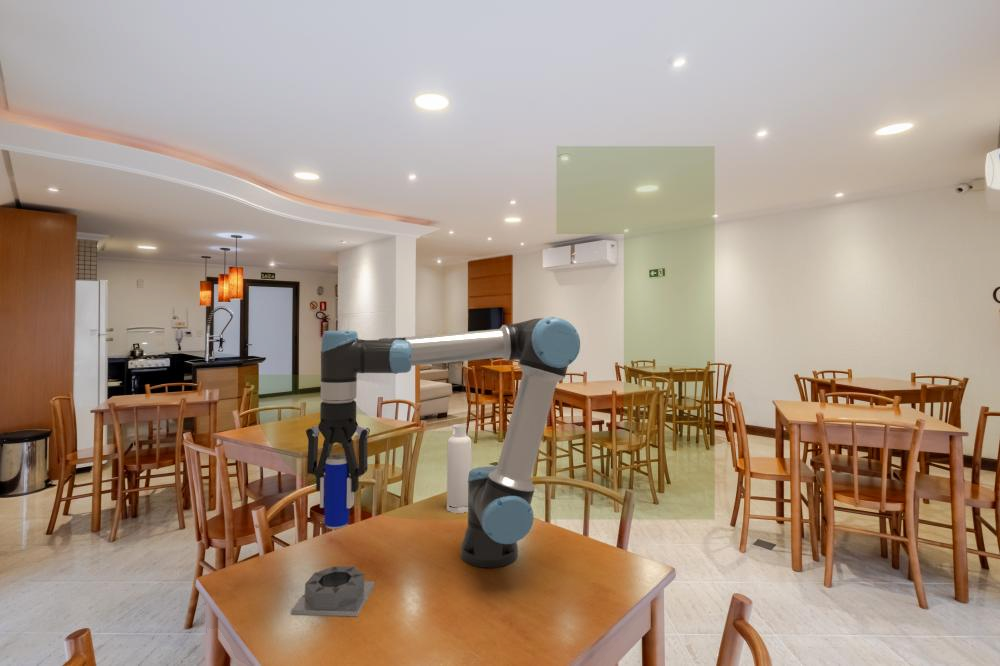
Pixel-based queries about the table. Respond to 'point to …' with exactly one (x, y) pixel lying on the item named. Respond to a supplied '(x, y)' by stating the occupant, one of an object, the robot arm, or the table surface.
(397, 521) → the table surface
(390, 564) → the table surface
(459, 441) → the bottle
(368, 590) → the socket
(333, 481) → the beverage can
